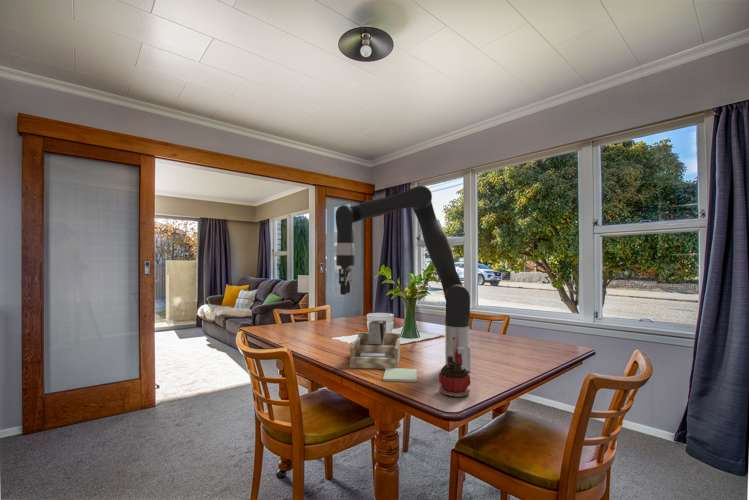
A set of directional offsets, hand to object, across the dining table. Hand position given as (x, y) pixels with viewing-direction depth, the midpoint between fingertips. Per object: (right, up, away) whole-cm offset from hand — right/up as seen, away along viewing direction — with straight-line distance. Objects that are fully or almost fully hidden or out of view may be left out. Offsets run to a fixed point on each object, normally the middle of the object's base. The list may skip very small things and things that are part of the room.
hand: (345, 293), depth 147 cm
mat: (+22, -29, -14) cm, 39 cm away
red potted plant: (+38, -28, -31) cm, 57 cm away
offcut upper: (+11, -27, 0) cm, 30 cm away
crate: (+13, -30, +6) cm, 33 cm away
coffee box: (+13, -30, +10) cm, 34 cm away
